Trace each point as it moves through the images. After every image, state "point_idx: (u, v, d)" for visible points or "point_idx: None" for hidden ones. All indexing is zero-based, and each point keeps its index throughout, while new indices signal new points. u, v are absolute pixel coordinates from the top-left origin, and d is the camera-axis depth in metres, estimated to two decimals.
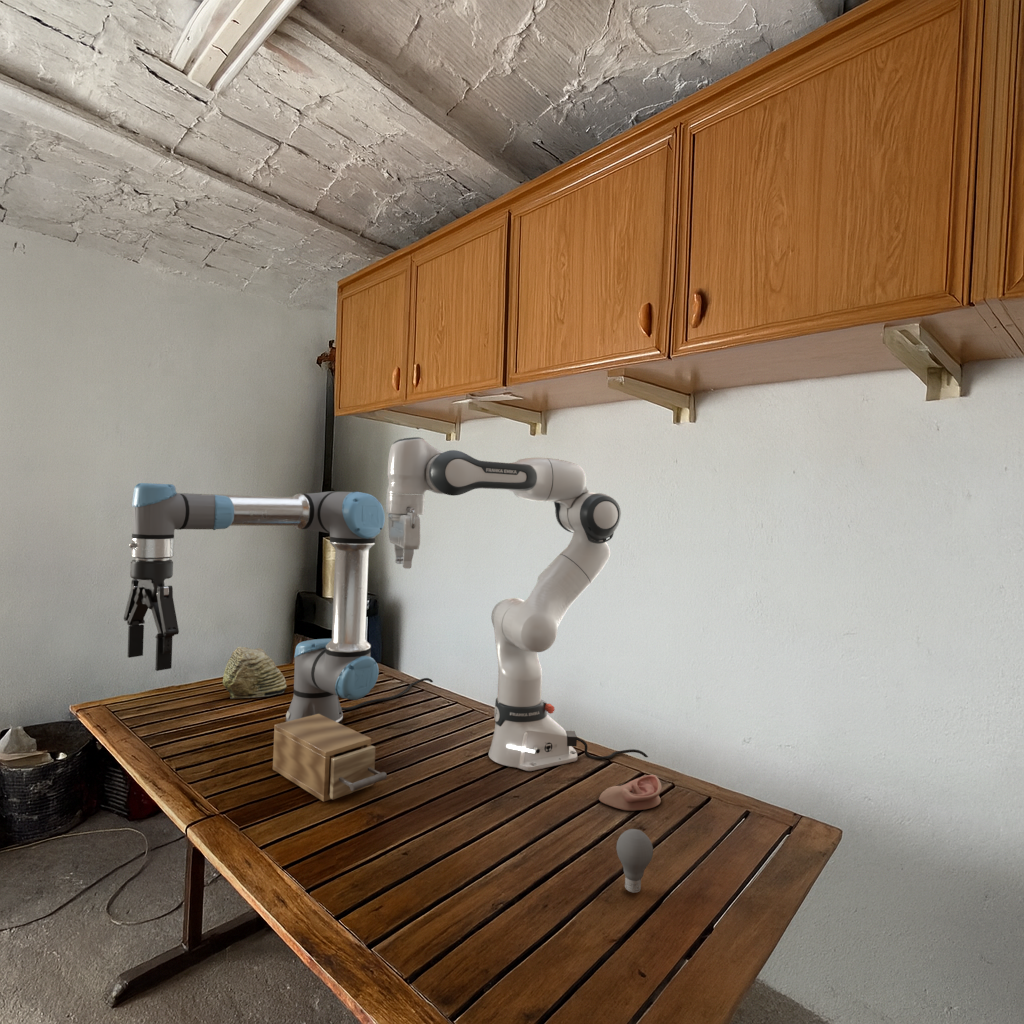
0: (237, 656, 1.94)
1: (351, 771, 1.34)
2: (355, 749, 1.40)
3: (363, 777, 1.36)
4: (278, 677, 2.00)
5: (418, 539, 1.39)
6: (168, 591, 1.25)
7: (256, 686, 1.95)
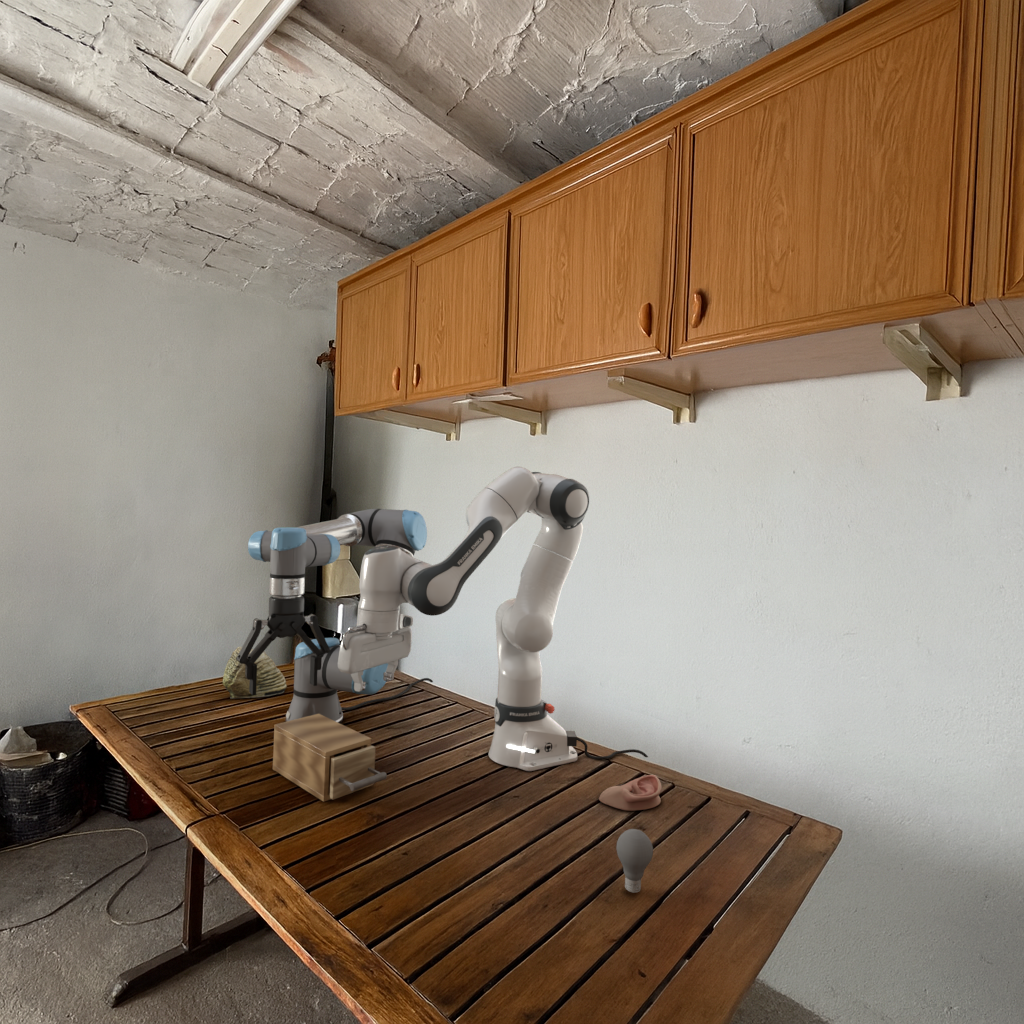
0: None
1: (351, 771, 1.34)
2: (355, 749, 1.40)
3: (363, 777, 1.36)
4: (278, 677, 2.00)
5: (348, 663, 1.26)
6: None
7: (256, 686, 1.95)
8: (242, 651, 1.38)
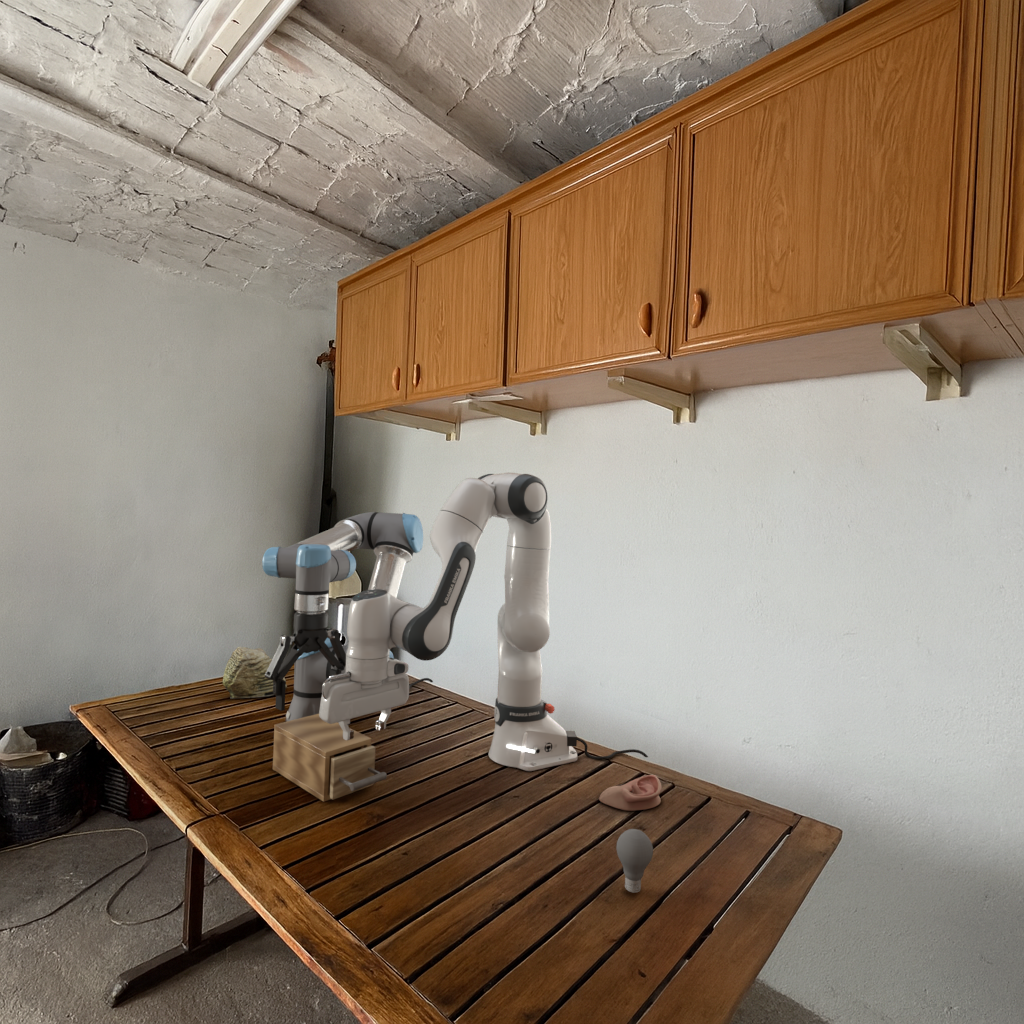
0: (237, 656, 1.94)
1: (351, 771, 1.34)
2: (355, 749, 1.40)
3: (363, 777, 1.36)
4: None
5: (327, 713, 1.24)
6: None
7: (256, 686, 1.95)
8: (271, 668, 1.39)
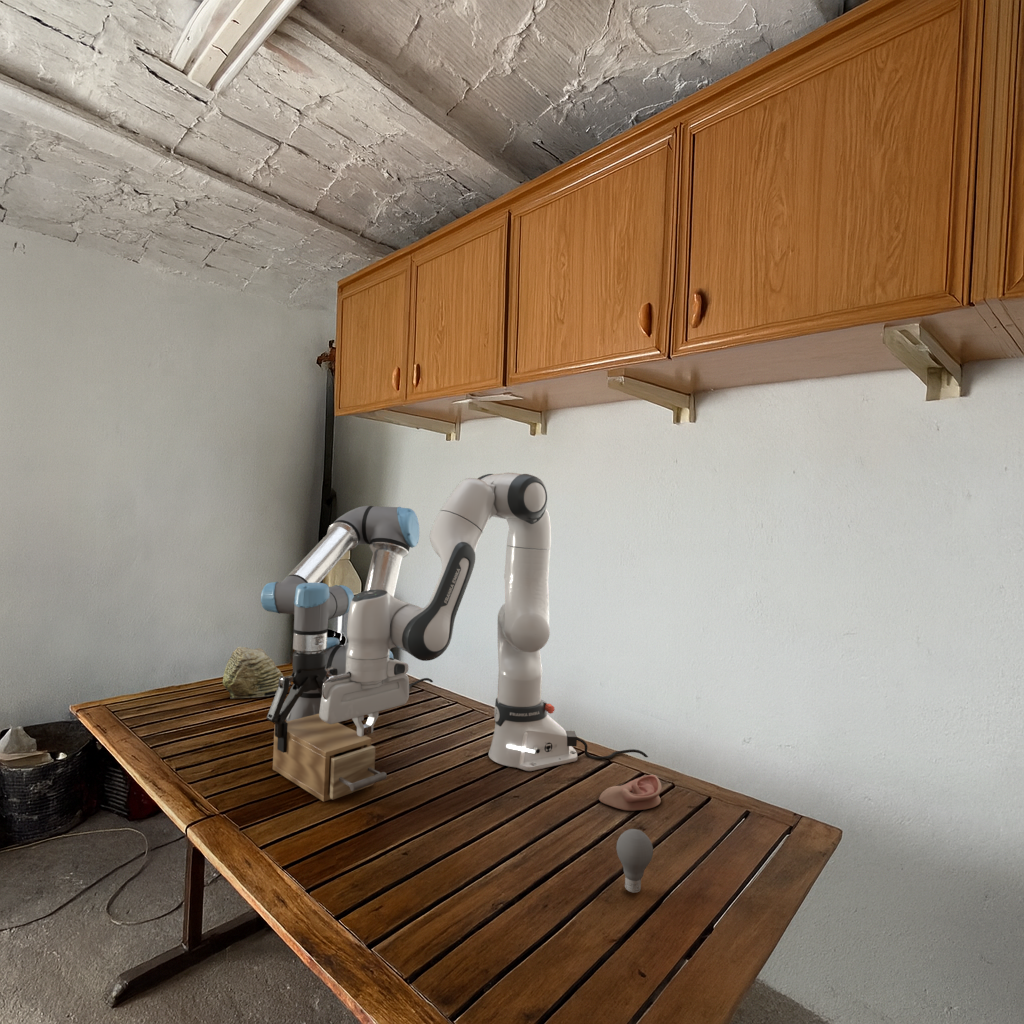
0: (237, 656, 1.94)
1: (351, 771, 1.34)
2: (355, 749, 1.40)
3: (363, 777, 1.36)
4: (278, 677, 2.00)
5: (327, 713, 1.24)
6: None
7: (256, 686, 1.95)
8: (272, 710, 1.40)
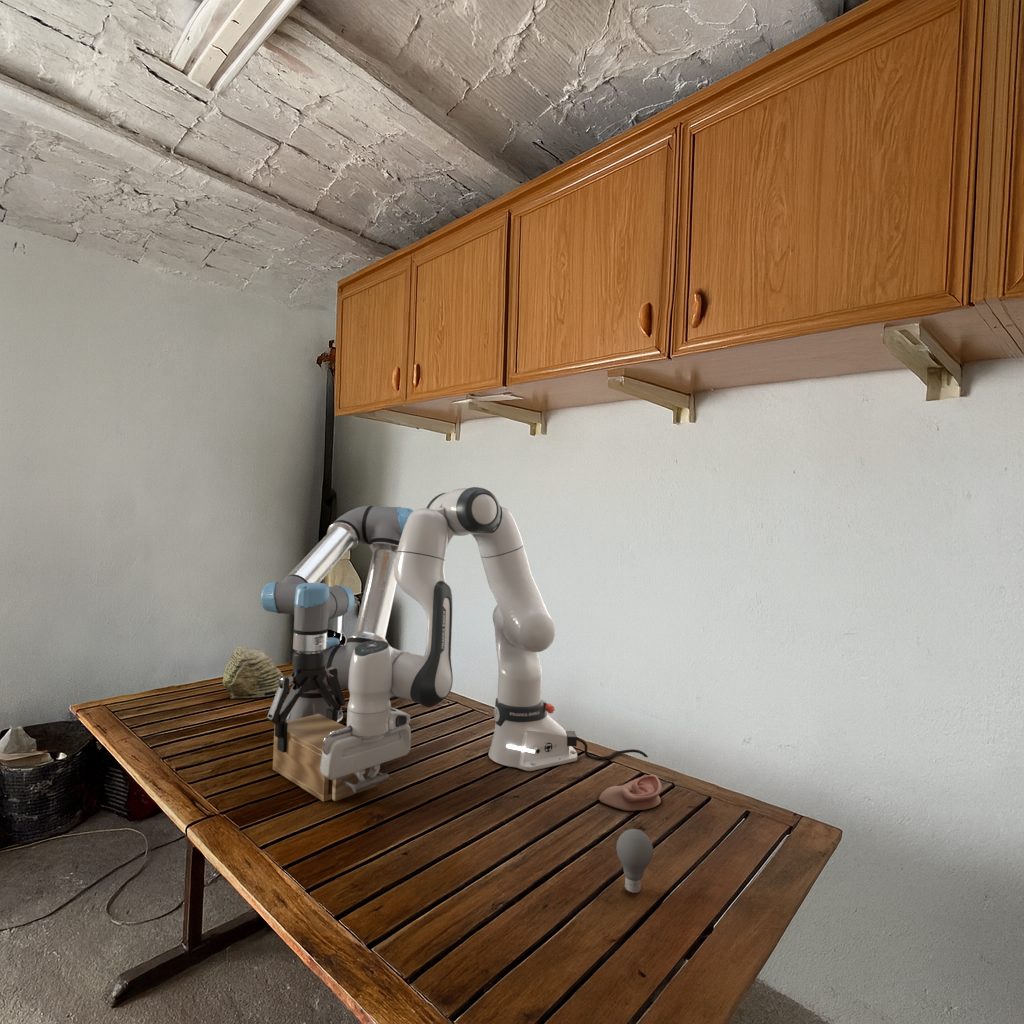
0: (237, 656, 1.94)
1: None
2: None
3: None
4: (278, 677, 2.00)
5: (328, 769, 1.23)
6: None
7: (256, 686, 1.95)
8: (273, 710, 1.40)
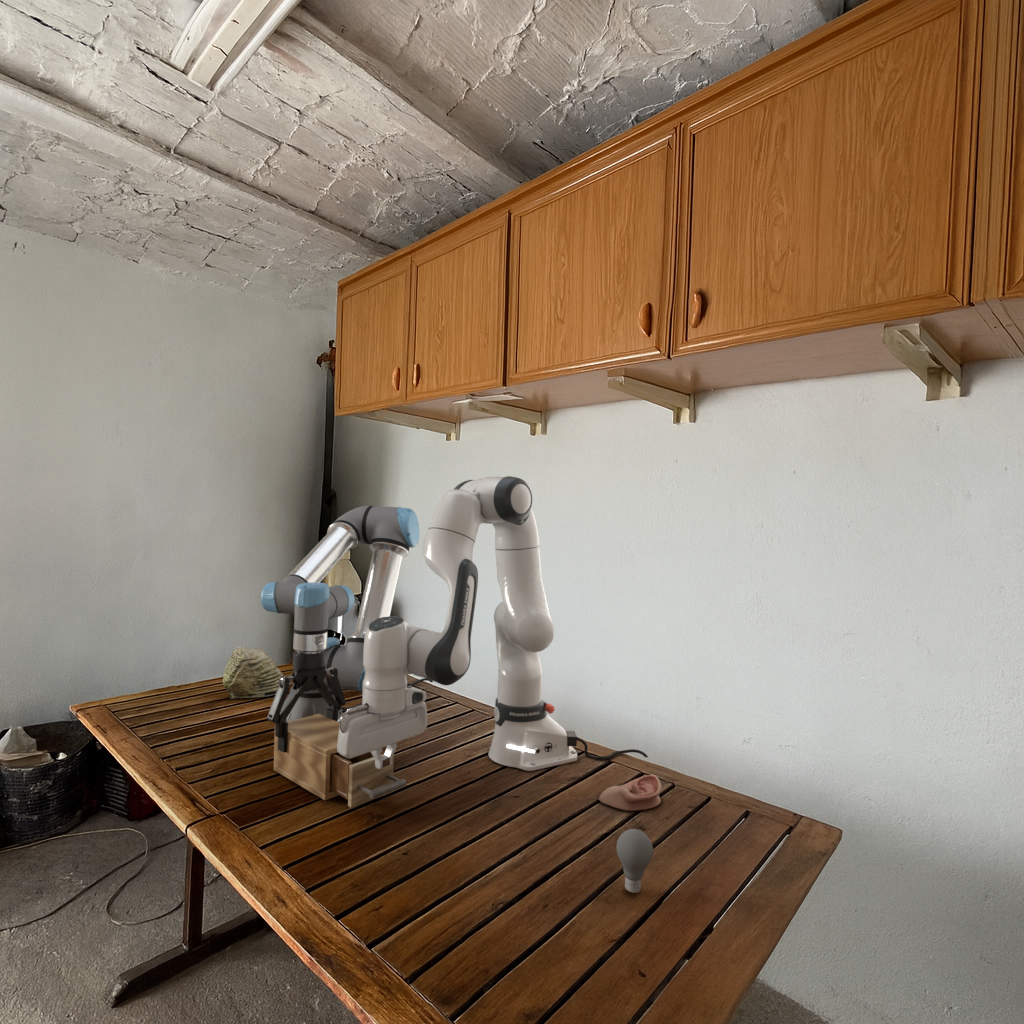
0: (237, 656, 1.94)
1: (370, 778, 1.29)
2: (372, 755, 1.36)
3: (382, 784, 1.32)
4: (278, 677, 2.00)
5: (345, 748, 1.20)
6: None
7: (256, 686, 1.95)
8: (273, 710, 1.40)
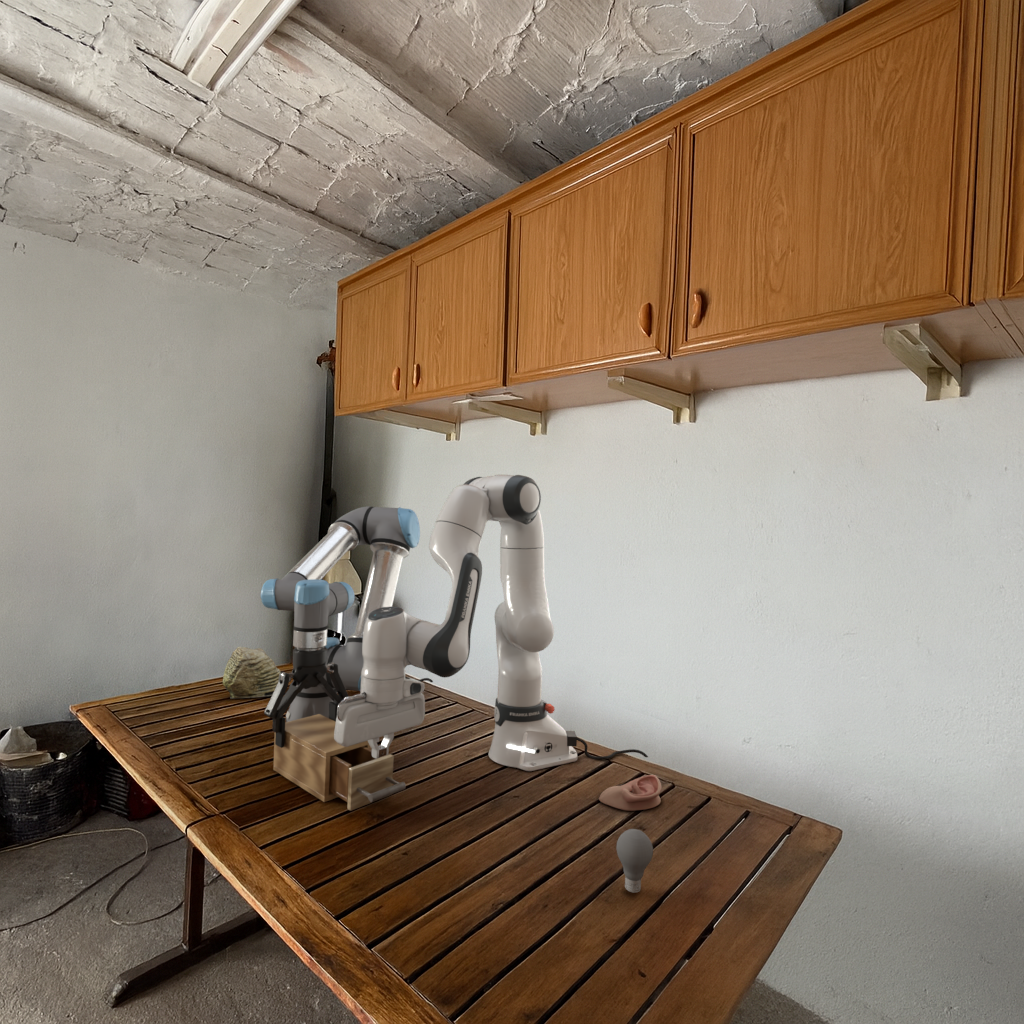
0: (237, 656, 1.94)
1: (369, 781, 1.29)
2: (372, 758, 1.36)
3: (381, 787, 1.32)
4: (278, 677, 2.00)
5: (342, 736, 1.20)
6: None
7: (256, 686, 1.95)
8: (271, 705, 1.40)
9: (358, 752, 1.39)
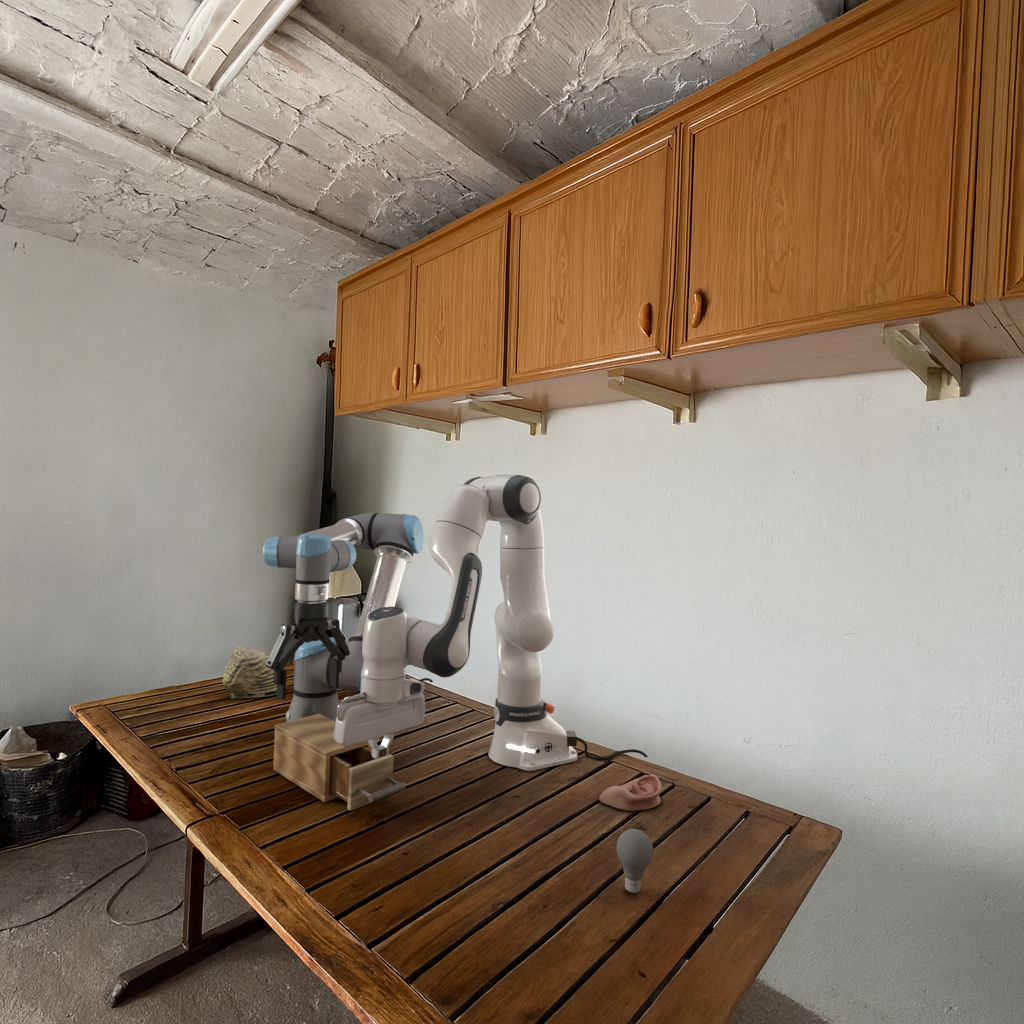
0: (237, 656, 1.94)
1: (369, 781, 1.29)
2: (372, 758, 1.36)
3: (381, 787, 1.32)
4: None
5: (342, 736, 1.20)
6: None
7: (256, 686, 1.95)
8: (272, 657, 1.39)
9: (358, 752, 1.39)
